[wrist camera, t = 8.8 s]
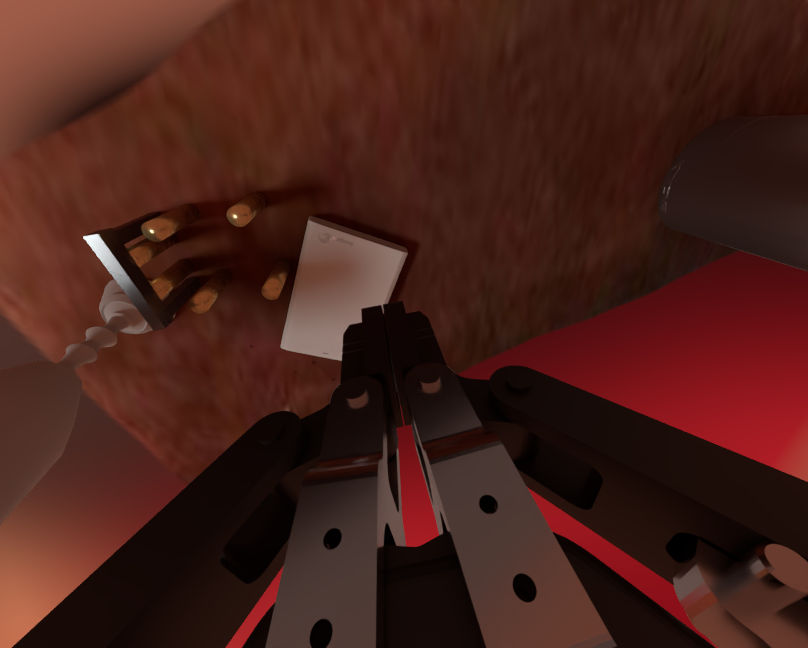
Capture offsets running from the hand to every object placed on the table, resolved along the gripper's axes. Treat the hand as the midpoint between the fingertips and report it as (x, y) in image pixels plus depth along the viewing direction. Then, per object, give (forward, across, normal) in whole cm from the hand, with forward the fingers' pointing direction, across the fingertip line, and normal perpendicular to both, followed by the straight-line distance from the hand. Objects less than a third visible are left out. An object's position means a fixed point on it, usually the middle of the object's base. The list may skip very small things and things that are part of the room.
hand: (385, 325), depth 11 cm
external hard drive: (+15, +1, +1) cm, 15 cm away
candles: (+16, +10, 0) cm, 19 cm away
